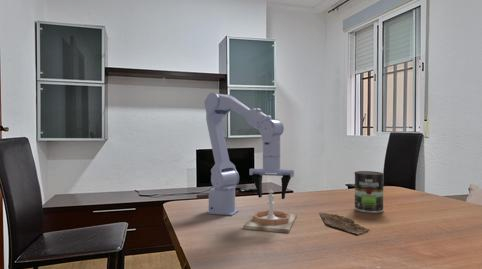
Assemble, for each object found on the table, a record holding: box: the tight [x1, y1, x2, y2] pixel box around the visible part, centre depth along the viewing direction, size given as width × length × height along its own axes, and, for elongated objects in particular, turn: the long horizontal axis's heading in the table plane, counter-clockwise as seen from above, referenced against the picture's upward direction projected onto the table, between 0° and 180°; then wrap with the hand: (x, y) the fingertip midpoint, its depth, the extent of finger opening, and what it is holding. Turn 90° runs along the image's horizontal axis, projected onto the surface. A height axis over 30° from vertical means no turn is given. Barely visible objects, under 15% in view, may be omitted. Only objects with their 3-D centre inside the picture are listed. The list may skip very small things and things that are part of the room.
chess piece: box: [264, 189, 278, 219], centre depth 103 cm, size 5×5×10 cm
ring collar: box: [252, 209, 291, 225], centre depth 104 cm, size 12×12×2 cm
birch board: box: [243, 211, 298, 234], centre depth 104 cm, size 14×18×1 cm
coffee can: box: [353, 170, 385, 214], centre depth 121 cm, size 10×10×14 cm
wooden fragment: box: [318, 212, 370, 236], centre depth 104 cm, size 26×11×1 cm, turn 8°
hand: (271, 197), depth 104 cm, fingers open, 7 cm apart
